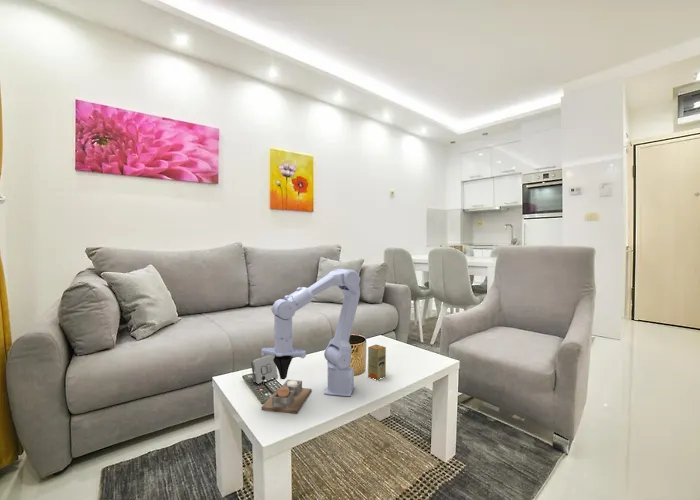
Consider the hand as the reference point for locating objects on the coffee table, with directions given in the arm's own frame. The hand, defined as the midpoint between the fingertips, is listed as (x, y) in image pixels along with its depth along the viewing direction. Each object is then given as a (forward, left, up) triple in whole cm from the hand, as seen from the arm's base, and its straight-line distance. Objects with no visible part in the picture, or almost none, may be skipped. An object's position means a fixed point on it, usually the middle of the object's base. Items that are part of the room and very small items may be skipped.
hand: (283, 378), depth 101 cm
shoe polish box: (-28, -28, -10) cm, 41 cm away
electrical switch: (+15, -17, -10) cm, 25 cm away
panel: (0, -4, -9) cm, 10 cm away
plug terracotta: (0, 0, -7) cm, 7 cm away
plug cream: (0, -8, -8) cm, 11 cm away
